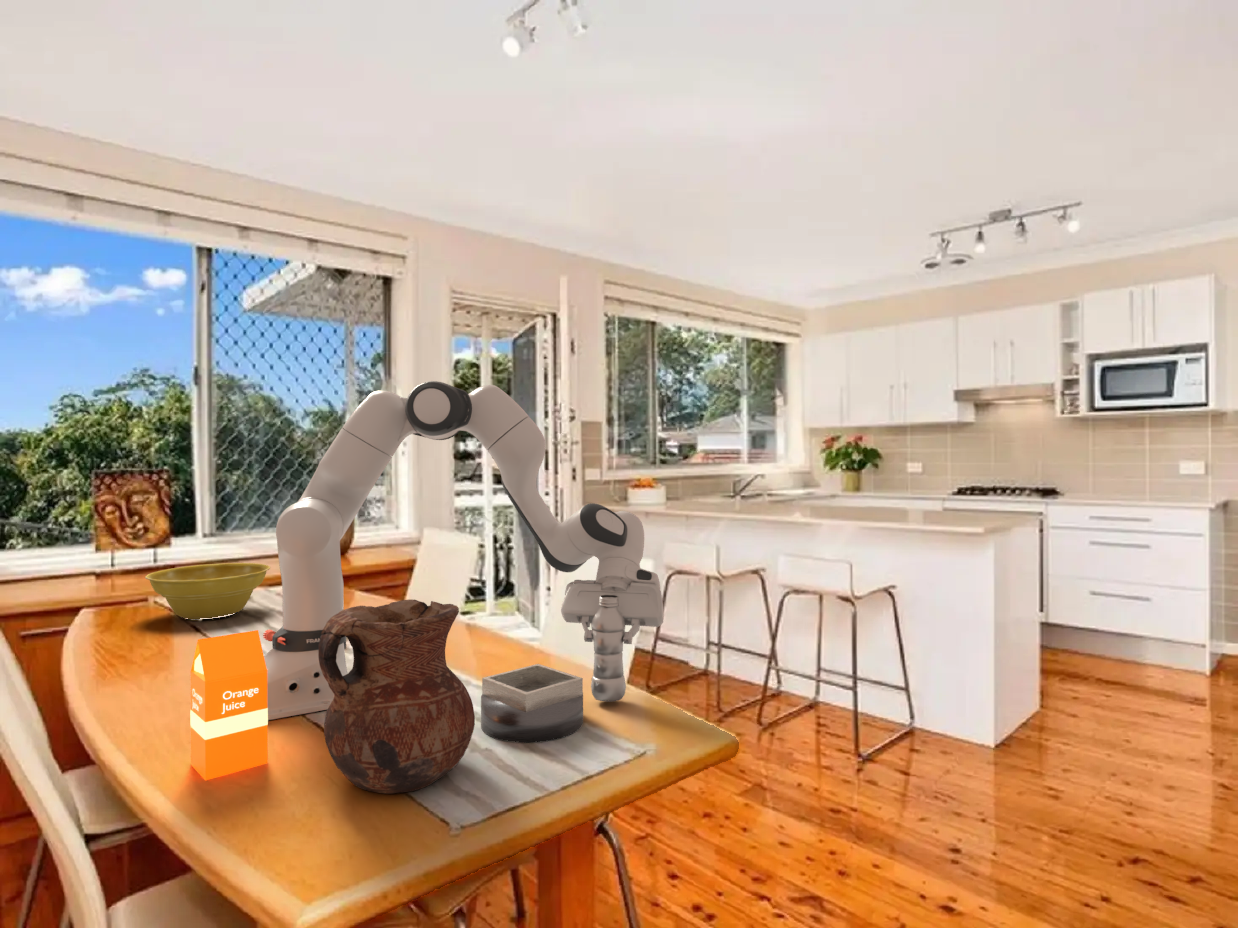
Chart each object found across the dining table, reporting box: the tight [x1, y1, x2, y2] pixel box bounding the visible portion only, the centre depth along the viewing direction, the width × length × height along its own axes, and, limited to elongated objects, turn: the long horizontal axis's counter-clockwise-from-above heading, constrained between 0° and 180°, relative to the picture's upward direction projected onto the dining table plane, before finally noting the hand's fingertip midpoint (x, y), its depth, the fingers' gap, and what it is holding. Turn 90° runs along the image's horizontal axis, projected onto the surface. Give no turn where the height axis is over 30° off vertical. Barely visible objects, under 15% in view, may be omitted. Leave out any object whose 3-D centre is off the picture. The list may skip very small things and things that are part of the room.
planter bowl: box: [144, 562, 271, 619], centre depth 217 cm, size 32×32×13 cm
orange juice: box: [189, 629, 269, 781], centre depth 113 cm, size 8×9×20 cm
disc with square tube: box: [480, 663, 584, 744], centre depth 132 cm, size 18×20×8 cm
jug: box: [318, 599, 476, 794], centre depth 110 cm, size 22×21×25 cm
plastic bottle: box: [590, 595, 627, 703], centre depth 141 cm, size 6×7×20 cm
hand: (607, 641), depth 141 cm, fingers closed on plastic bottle, 6 cm apart
